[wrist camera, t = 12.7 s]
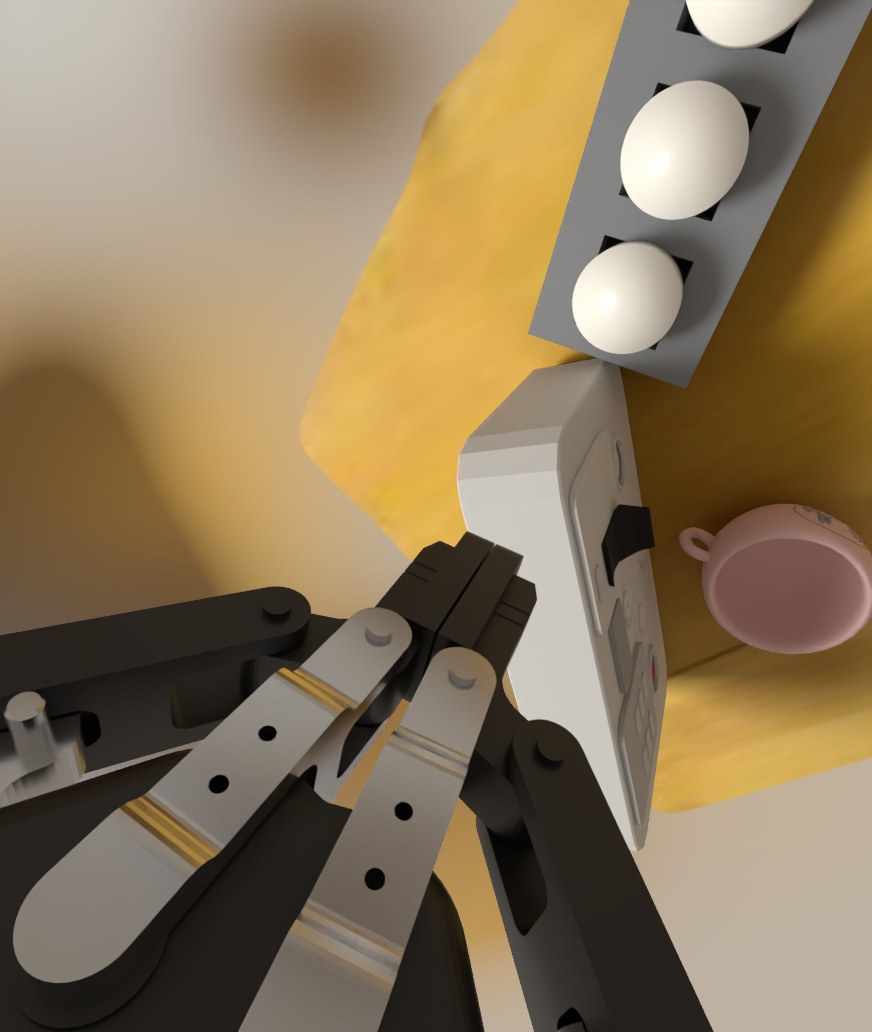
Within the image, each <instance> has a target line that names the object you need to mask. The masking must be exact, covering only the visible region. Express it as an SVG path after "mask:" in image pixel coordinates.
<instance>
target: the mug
mask: <svg viewBox="0 0 872 1032" xmlns="http://www.w3.org/2000/svg"><path fill="white" fill-rule="evenodd" d="M691 538H697V539H699V540H701V541H702V542H704V543H705V544H707V545H708V550H707V552H706V551H704V550H702V549H700V548H698V547H697V546H695V545H694V544H693V542H692V541H691ZM679 542H680V545H681V547H682V549H683V550H684V551H685V552H686V553H687V554H689V555H690V556H692V557H693V558H695V559H697V560H701V561H703V568H702V576H701V579H702V589H703V596H704V599H705V602H706V604H707V607H708V609H709V611H710V613H711V614H712V616H713V617H714V618H715V620H716V621H717V623H718V624H719V625H720V626H722V627H723V628H724V629H725V630H726V631H727V632H728V633H729V634H731V635H732V636H734V637H736V638H737V639H739V640H741V641H742V642H744V643H746V644H749V645H751V646H753V647H756V648H758V649H762V650H766V651H770V652H774V653H784V654H806V653H813V652H818V651H823V650H826V649H829V648H832V647H834V646H837V645H840V644H841V643H843V642H845V641H846V640H848V639H850V638H851V637H853V636H854V635H856V634H857V633H858V632H859V631H860V630H861V629H862V628H863V627H864V626H865V625H866V624H867V623H868V621H869V620H870V618H871V616H872V555H871V553H870V551H869V549H868V548H867V546H866V545H865V543H864V542H863V540H862V539H861V538H860V537H859V536H858V535H857V534H856V533H855V532H854V531H853V530H852V529H851V528H850V527H849V526H848V525H847V524H845V523H844V522H842V521H840V520H839V519H837V518H835V517H834V516H832V515H830V514H828V513H825V512H822V511H820V510H817V509H814V508H811V507H808V506H803V505H797V504H773V505H767V506H762V507H759V508H756V509H753V510H750V511H748V512H746V513H744V514H742V515H740V516H739V517H737V518H735V519H734V520H732V521H731V522H729V523H728V524H727V525H726V526H725V527H724V528H722V529H721V530H720V531H719V532H718V534H717V535H716V536H713V535H711V534H710V533H708V532H707V531H705V530H703V529H700V528H696V527H690V528H686V529H685V530H683V531H682V532H681V533H680V535H679Z"/></svg>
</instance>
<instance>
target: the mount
mask: <svg viewBox="0 0 872 1032" xmlns="http://www.w3.org/2000/svg"><path fill="white" fill-rule="evenodd" d="M871 8H872V0H814V2H813V3H812V5H811V6H810V7H809V9H808V10H807V11H806V13H805V14H804V15H803V16H802V17H801V18H800V19H799V20H798V21H797V22H796V23H795V24H794V25H793V26H792V27H791V28H790V29H789V30H787V31H786V32H785V33H783V34H782V35H781V36H779V37H778V38H776V39H774V40H772V41H771V42H769V43H766V44H764V45H762V46H759V47H756V48H753V49H747V50H727V49H723V48H720V47H717V46H715V45H714V44H712V43H710V42H709V41H708V40H706V39H705V38H704V37H703V36H702V35H701V34H700V33H699V31H698V30H697V28H696V27H695V25H694V23H693V20H692V18H691V16H690V13H689V10H688V6H687V3H686V0H630V1H629V5H628V8H627V11H626V14H625V18H624V21H623V24H622V28H621V31H620V34H619V37H618V41H617V44H616V47H615V50H614V54H613V57H612V60H611V64H610V67H609V70H608V73H607V77H606V80H605V83H604V87H603V90H602V93H601V96H600V100H599V103H598V106H597V109H596V113H595V116H594V119H593V123H592V126H591V129H590V132H589V136H588V139H587V142H586V146H585V149H584V152H583V155H582V159H581V162H580V165H579V168H578V172H577V175H576V178H575V182H574V185H573V188H572V191H571V195H570V198H569V201H568V205H567V208H566V211H565V214H564V218H563V221H562V224H561V227H560V231H559V234H558V237H557V241H556V244H555V247H554V250H553V254H552V257H551V260H550V264H549V267H548V270H547V273H546V277H545V280H544V283H543V286H542V290H541V293H540V296H539V300H538V303H537V306H536V309H535V313H534V316H533V319H532V322H531V326H530V329H529V332H528V334H531V335H533V336H536V337H539V338H542V339H545V340H548V341H551V342H553V343H556V344H559V345H562V346H565V347H568V348H571V349H573V350H576V351H579V352H582V353H585V354H588V355H590V356H593V357H596V358H599V359H602V360H605V361H608V362H610V363H613V364H616V365H619V366H622V367H625V368H627V369H630V370H633V371H636V372H639V373H642V374H645V375H647V376H650V377H653V378H656V379H659V380H662V381H664V382H667V383H670V384H673V385H676V386H679V387H682V388H684V389H686V388H687V386H688V384H689V382H690V380H691V378H692V376H693V374H694V371H695V369H696V367H697V365H698V363H699V361H700V359H701V357H702V355H703V353H704V351H705V349H706V347H707V345H708V343H709V341H710V339H711V337H712V335H713V333H714V330H715V328H716V326H717V324H718V322H719V320H720V318H721V316H722V314H723V312H724V310H725V308H726V306H727V304H728V302H729V300H730V298H731V296H732V294H733V291H734V289H735V287H736V285H737V283H738V281H739V279H740V277H741V275H742V273H743V271H744V269H745V267H746V265H747V263H748V261H749V259H750V257H751V255H752V252H753V250H754V248H755V246H756V244H757V242H758V240H759V238H760V236H761V234H762V232H763V230H764V228H765V226H766V224H767V222H768V220H769V218H770V216H771V213H772V211H773V209H774V207H775V205H776V203H777V201H778V199H779V197H780V195H781V193H782V191H783V189H784V187H785V185H786V183H787V181H788V179H789V177H790V175H791V172H792V170H793V168H794V166H795V164H796V162H797V160H798V158H799V156H800V154H801V152H802V150H803V148H804V146H805V144H806V142H807V140H808V138H809V136H810V133H811V131H812V129H813V127H814V125H815V123H816V121H817V119H818V117H819V115H820V113H821V111H822V109H823V107H824V105H825V103H826V101H827V99H828V97H829V94H830V92H831V90H832V88H833V86H834V84H835V82H836V80H837V78H838V76H839V74H840V72H841V70H842V68H843V66H844V64H845V62H846V60H847V58H848V56H849V53H850V51H851V49H852V47H853V45H854V43H855V41H856V39H857V37H858V35H859V33H860V31H861V29H862V27H863V25H864V23H865V21H866V19H867V17H868V14H869V12H870V10H871ZM687 81H708V82H712V83H715V84H718V85H720V86H722V87H724V88H725V89H727V90H728V91H729V92H731V93H732V94H733V95H734V97H735V98H736V99H737V100H738V101H739V103H740V105H741V106H742V108H743V110H744V113H745V115H746V119H747V122H748V129H749V144H748V151H747V155H746V159H745V162H744V165H743V167H742V170H741V172H740V174H739V176H738V178H737V179H736V181H735V182H734V184H733V186H732V187H731V188H730V189H729V191H728V192H727V193H726V194H725V195H724V196H723V197H722V198H721V199H720V200H719V201H718V202H717V203H715V204H714V205H713V206H711V207H710V208H708V209H707V210H705V211H703V212H701V213H699V214H697V215H694V216H691V217H688V218H684V219H676V220H668V219H661V218H656V217H654V216H651V215H649V214H647V213H645V212H644V211H642V210H641V209H640V208H639V207H637V206H636V204H635V203H634V202H633V201H632V200H631V198H630V197H629V195H628V193H627V191H626V189H625V187H624V184H623V181H622V176H621V167H620V162H621V152H622V146H623V143H624V139H625V136H626V134H627V131H628V129H629V127H630V125H631V123H632V121H633V120H634V118H635V117H636V115H637V114H638V113H639V111H640V110H641V109H642V108H643V106H644V105H645V104H646V103H647V102H649V101H650V100H651V99H652V98H653V97H654V96H656V95H657V94H658V93H660V92H661V91H663V90H665V89H666V88H669V87H671V86H673V85H675V84H679V83H682V82H687ZM628 241H644V242H648V243H652V244H654V245H657V246H659V247H660V248H662V249H664V250H665V251H666V252H667V253H669V255H670V256H671V257H672V258H673V259H674V261H675V262H676V263H677V265H678V267H679V269H680V272H681V275H682V280H683V298H682V302H681V306H680V308H679V311H678V314H677V316H676V319H675V321H674V323H673V324H672V326H671V328H670V329H669V330H668V332H667V333H666V334H665V335H664V336H663V337H662V338H661V339H660V340H659V341H658V342H656V343H655V344H653V345H652V346H650V347H648V348H646V349H644V350H642V351H639V352H635V353H631V354H614V353H609V352H606V351H603V350H601V349H599V348H597V347H595V346H594V345H592V344H591V343H590V342H588V340H587V339H586V338H585V337H584V336H583V335H582V333H581V332H580V330H579V329H578V327H577V325H576V322H575V319H574V315H573V309H572V298H573V292H574V288H575V285H576V283H577V280H578V278H579V276H580V274H581V273H582V271H583V270H584V268H585V267H586V266H587V265H588V264H589V263H590V262H591V261H592V260H593V259H594V258H595V257H597V256H598V255H600V254H601V253H602V252H604V251H605V250H607V249H609V248H610V247H612V246H614V245H617V244H620V243H623V242H628Z"/></svg>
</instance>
